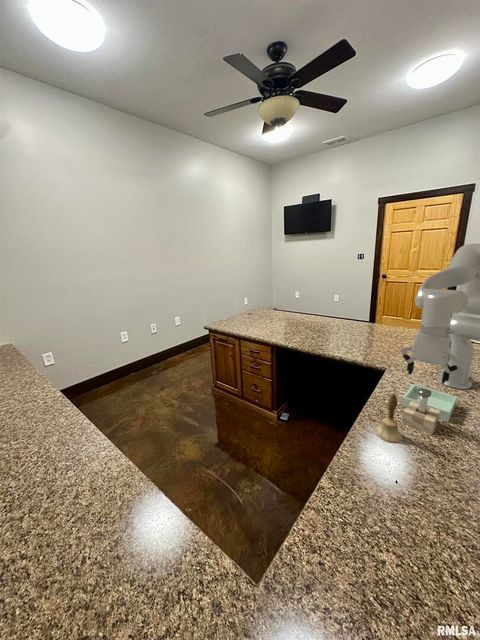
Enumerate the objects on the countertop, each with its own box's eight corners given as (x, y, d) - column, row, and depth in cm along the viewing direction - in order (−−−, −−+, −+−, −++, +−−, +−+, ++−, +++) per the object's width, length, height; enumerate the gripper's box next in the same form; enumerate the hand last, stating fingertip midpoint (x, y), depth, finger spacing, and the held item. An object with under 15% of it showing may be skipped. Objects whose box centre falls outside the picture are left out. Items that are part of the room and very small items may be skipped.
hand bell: (404, 433, 90) (410, 392, 85) (399, 446, 84) (404, 404, 80) (379, 423, 95) (382, 385, 91) (371, 435, 89) (375, 395, 85)
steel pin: (415, 418, 97) (420, 387, 93) (427, 422, 94) (432, 390, 91) (412, 422, 94) (417, 391, 91) (424, 427, 92) (429, 395, 88)
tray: (412, 392, 113) (413, 384, 112) (455, 405, 103) (457, 396, 101) (401, 405, 104) (402, 397, 103) (448, 422, 94) (449, 412, 93)
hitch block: (409, 412, 100) (411, 400, 99) (438, 422, 94) (440, 410, 92) (402, 423, 95) (403, 411, 93) (431, 434, 88) (433, 422, 87)
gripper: (470, 332, 81) (460, 381, 85) (407, 323, 93) (401, 366, 98) (466, 338, 76) (456, 390, 80) (400, 328, 88) (395, 373, 93)
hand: (426, 377), depth 89 cm, fingers open, 9 cm apart
